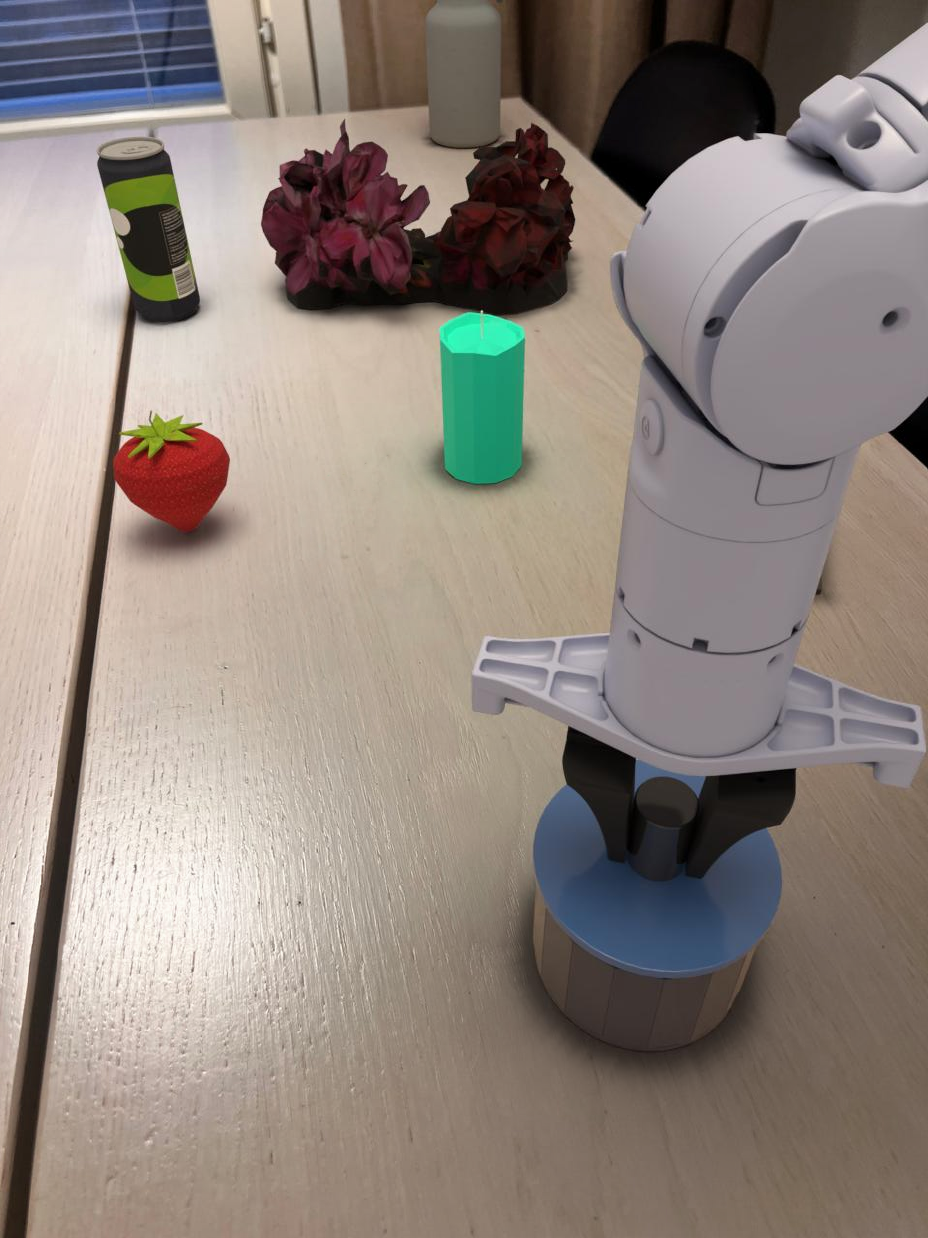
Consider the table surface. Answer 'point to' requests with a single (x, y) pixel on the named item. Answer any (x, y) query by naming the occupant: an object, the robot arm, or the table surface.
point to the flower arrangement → (407, 260)
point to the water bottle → (464, 72)
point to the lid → (654, 882)
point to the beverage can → (149, 227)
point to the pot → (630, 993)
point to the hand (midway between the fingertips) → (657, 848)
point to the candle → (482, 397)
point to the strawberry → (172, 471)
